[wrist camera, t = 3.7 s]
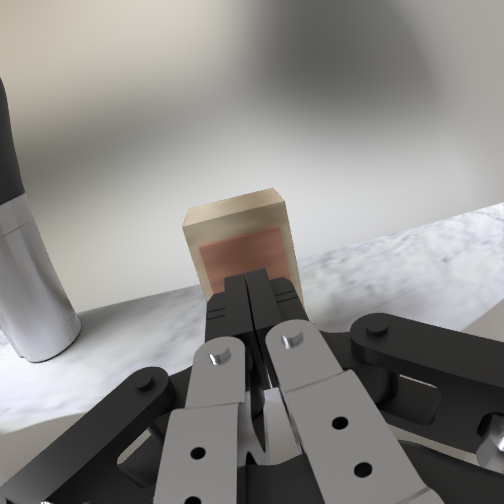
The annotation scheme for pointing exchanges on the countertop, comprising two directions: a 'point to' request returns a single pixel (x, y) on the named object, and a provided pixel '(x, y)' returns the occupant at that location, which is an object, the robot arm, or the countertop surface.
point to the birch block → (241, 240)
